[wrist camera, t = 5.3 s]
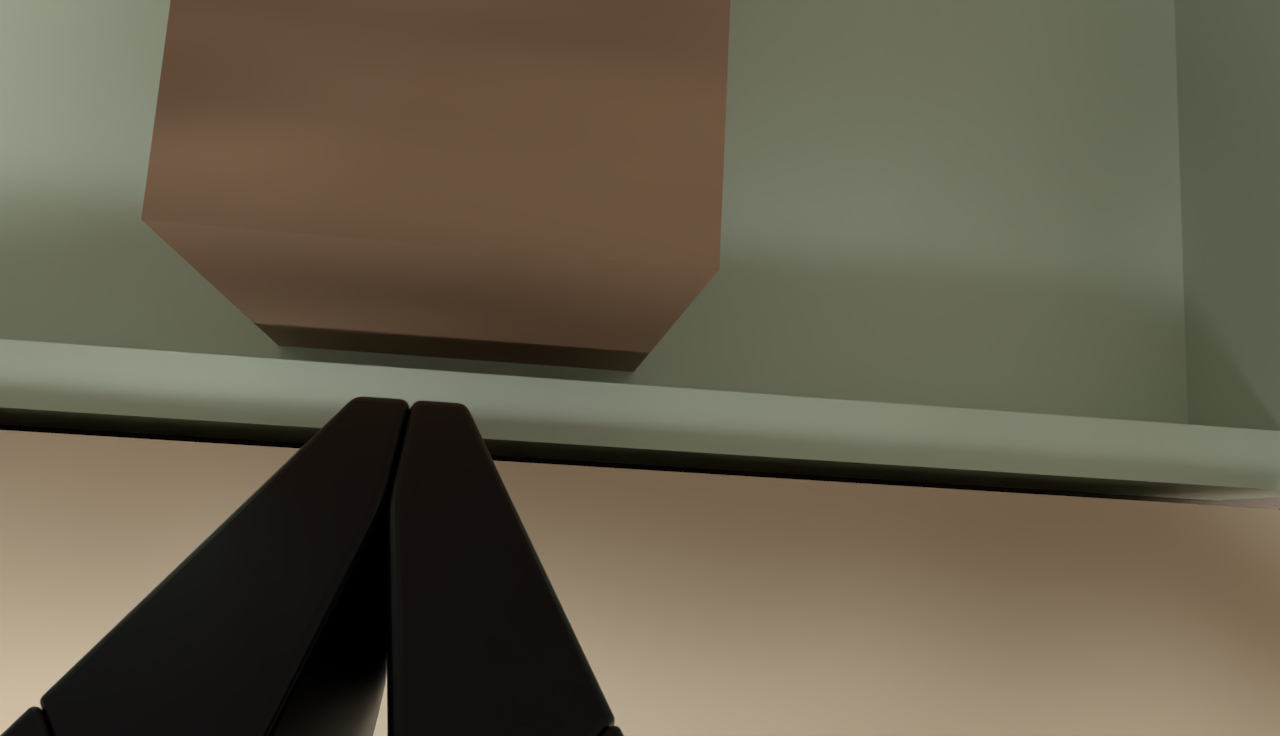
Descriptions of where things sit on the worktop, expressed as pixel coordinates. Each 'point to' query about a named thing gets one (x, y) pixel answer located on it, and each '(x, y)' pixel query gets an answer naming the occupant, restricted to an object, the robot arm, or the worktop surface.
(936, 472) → the box
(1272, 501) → the worktop surface
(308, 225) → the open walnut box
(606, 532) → the bench plate
